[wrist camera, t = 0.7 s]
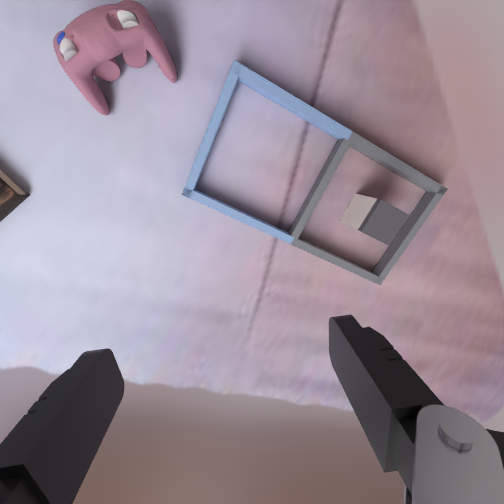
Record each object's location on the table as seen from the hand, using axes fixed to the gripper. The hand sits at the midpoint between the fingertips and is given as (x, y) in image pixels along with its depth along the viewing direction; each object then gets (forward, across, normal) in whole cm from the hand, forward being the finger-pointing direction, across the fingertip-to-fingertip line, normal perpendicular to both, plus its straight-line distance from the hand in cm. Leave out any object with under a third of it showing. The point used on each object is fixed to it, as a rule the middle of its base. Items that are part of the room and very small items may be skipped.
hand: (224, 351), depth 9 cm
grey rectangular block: (+25, -18, +2) cm, 30 cm away
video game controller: (+25, +9, -17) cm, 32 cm away
